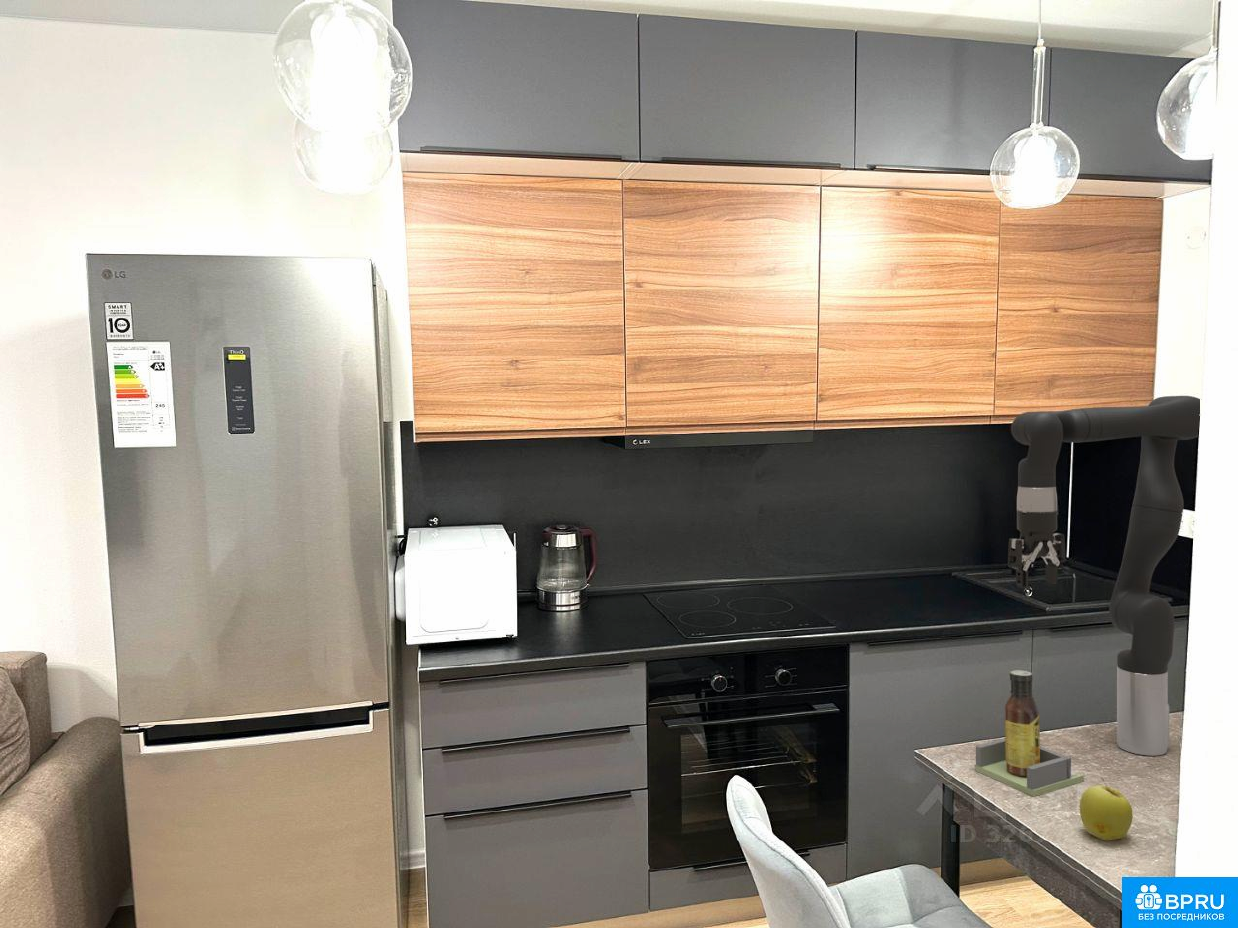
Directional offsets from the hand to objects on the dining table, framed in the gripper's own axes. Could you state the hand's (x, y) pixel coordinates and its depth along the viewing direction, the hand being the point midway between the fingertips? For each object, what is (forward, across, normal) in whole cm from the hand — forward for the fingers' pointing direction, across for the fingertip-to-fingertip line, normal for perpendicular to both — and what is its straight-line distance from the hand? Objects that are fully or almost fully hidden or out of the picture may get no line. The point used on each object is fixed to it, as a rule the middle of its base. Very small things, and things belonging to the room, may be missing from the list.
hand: (1037, 585), depth 183 cm
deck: (+36, +10, +6) cm, 38 cm away
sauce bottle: (+35, +12, +6) cm, 37 cm away
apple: (+36, +19, +29) cm, 50 cm away
